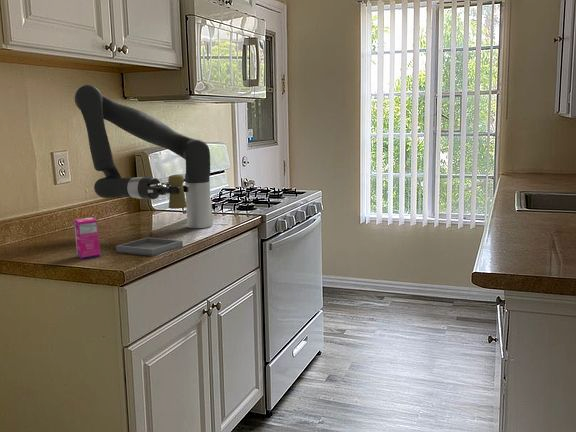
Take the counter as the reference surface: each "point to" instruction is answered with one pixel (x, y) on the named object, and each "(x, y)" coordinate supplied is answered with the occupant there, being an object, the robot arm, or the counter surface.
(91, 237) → the supplement box
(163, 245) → the tray
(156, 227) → the counter surface
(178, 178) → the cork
